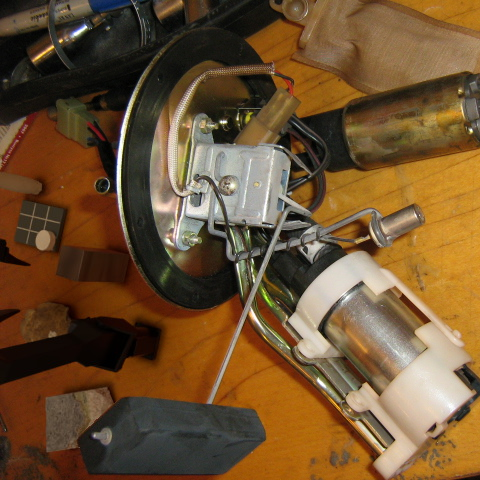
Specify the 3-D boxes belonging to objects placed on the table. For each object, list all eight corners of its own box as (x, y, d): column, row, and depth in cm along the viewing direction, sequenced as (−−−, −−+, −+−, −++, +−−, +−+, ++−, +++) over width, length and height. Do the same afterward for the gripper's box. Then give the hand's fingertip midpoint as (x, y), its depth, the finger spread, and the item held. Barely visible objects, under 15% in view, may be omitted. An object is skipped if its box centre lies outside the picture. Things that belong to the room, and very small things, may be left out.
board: (67, 209, 105) (62, 208, 104) (57, 252, 105) (53, 251, 104) (26, 200, 111) (22, 199, 109) (17, 241, 110) (12, 240, 109)
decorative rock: (30, 351, 106) (80, 354, 101) (13, 354, 102) (64, 358, 97) (31, 301, 106) (81, 302, 101) (14, 302, 102) (65, 303, 97)
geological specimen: (40, 398, 96) (90, 388, 90) (67, 393, 101) (115, 383, 95) (43, 453, 93) (94, 446, 88) (70, 444, 99) (120, 437, 93)
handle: (29, 180, 111) (-39, 164, 97) (48, 176, 109) (-19, 159, 95) (28, 199, 110) (-40, 186, 96) (47, 196, 108) (-20, 182, 94)
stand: (130, 254, 97) (84, 250, 86) (123, 282, 97) (77, 281, 86) (109, 249, 99) (62, 244, 89) (103, 276, 99) (55, 275, 89)
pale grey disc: (57, 232, 104) (51, 231, 103) (53, 252, 104) (47, 252, 103) (43, 229, 106) (38, 228, 104) (39, 248, 106) (33, 248, 104)
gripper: (-82, 223, 80) (8, 234, 94) (-107, 330, 79) (-13, 323, 93) (-43, 235, 75) (45, 243, 90) (-69, 347, 75) (24, 338, 89)
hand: (24, 287), depth 91 cm, fingers open, 9 cm apart
